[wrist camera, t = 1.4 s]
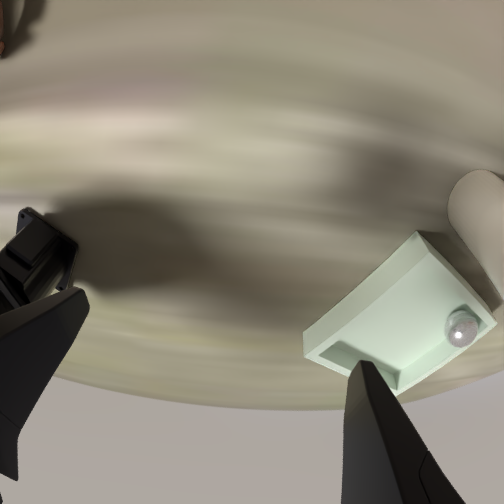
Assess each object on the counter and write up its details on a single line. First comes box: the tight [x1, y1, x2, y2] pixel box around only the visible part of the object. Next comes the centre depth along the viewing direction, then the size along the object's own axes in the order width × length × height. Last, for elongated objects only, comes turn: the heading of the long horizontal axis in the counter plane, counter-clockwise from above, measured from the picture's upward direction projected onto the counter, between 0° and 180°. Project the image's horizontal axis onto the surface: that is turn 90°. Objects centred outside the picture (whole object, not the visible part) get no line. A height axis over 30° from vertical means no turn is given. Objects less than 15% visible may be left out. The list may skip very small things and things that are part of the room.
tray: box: [303, 231, 497, 396], centre depth 24 cm, size 13×13×3 cm
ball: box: [444, 310, 478, 348], centre depth 22 cm, size 3×3×3 cm
